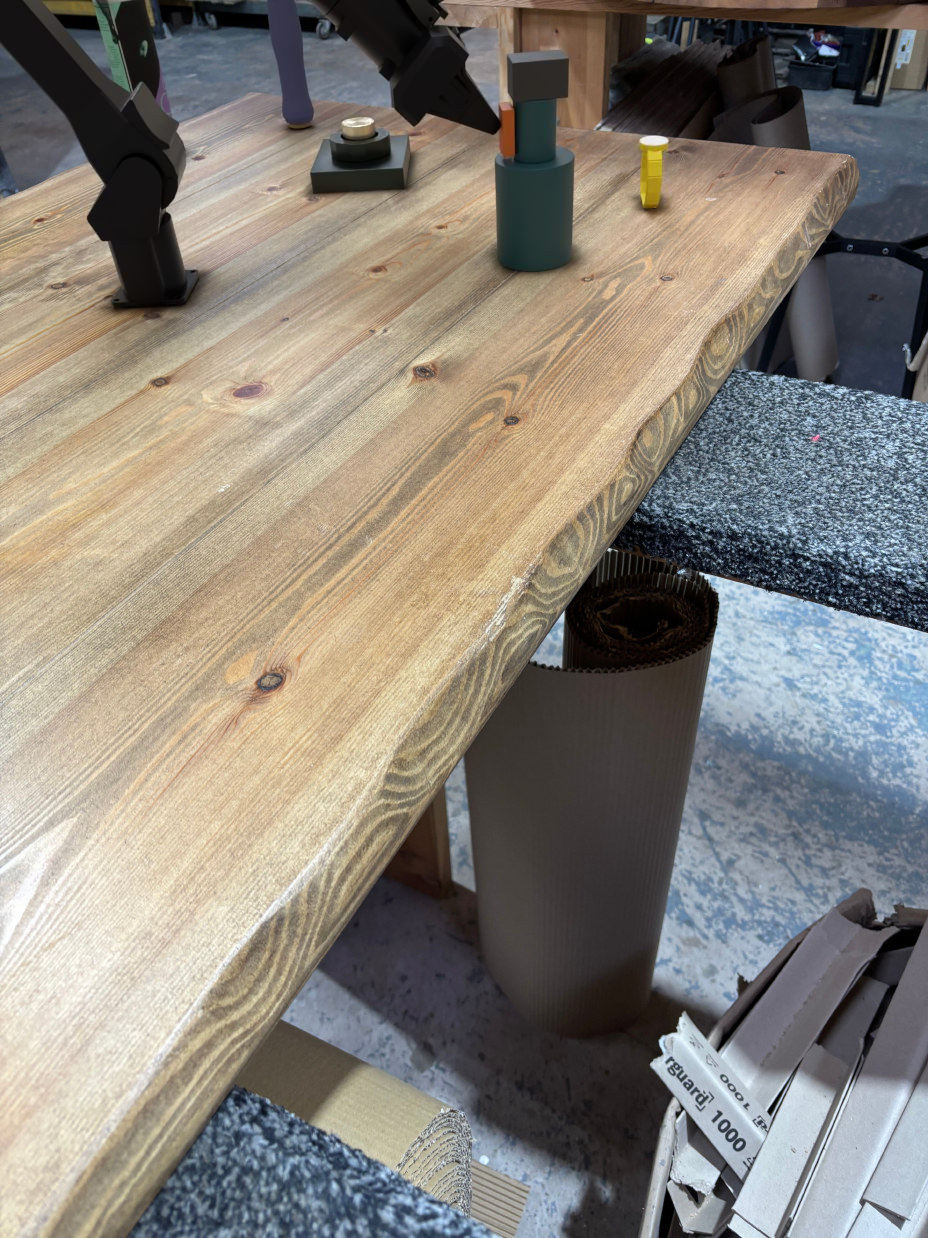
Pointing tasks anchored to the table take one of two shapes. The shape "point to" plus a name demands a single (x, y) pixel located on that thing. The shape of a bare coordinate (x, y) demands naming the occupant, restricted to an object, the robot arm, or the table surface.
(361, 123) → the button
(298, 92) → the purple vase
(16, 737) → the table surface
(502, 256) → the spray bottle
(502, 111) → the block
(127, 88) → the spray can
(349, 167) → the switch block
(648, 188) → the watch
